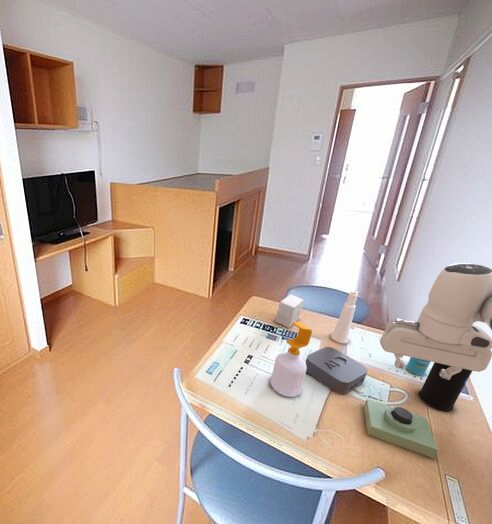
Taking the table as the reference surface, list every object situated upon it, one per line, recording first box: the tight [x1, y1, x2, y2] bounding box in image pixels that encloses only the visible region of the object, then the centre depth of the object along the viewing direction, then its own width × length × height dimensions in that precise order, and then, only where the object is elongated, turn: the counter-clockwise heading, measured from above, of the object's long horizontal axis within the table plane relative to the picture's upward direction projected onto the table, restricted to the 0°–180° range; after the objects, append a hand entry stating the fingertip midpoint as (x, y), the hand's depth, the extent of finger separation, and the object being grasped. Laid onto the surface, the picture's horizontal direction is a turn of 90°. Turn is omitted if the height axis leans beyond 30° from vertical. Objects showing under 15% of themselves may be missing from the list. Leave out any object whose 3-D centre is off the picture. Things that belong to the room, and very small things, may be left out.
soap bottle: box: [270, 321, 313, 398], centre depth 95 cm, size 9×9×25 cm
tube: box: [406, 357, 431, 376], centre depth 104 cm, size 7×5×19 cm, turn 81°
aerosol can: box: [417, 362, 473, 412], centre depth 92 cm, size 8×8×20 cm
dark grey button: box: [392, 406, 413, 424], centre depth 84 cm, size 4×4×2 cm
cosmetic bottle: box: [330, 289, 359, 344], centre depth 120 cm, size 6×6×22 cm
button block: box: [363, 398, 439, 459], centre depth 85 cm, size 14×11×5 cm
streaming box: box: [305, 346, 368, 395], centre depth 104 cm, size 14×14×5 cm
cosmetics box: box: [274, 294, 304, 329], centre depth 134 cm, size 10×6×10 cm, turn 132°
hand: (420, 372), depth 79 cm, fingers open, 8 cm apart
